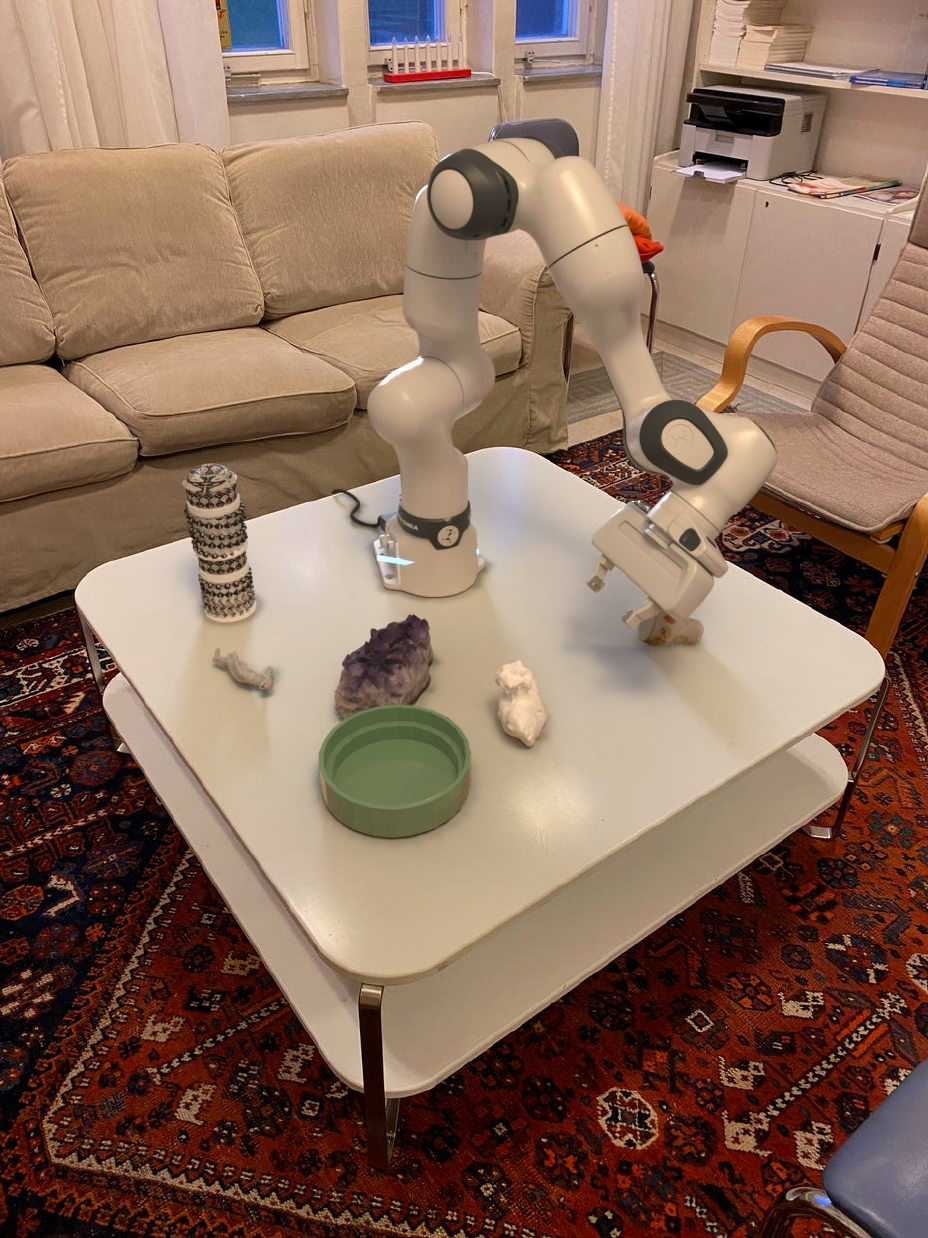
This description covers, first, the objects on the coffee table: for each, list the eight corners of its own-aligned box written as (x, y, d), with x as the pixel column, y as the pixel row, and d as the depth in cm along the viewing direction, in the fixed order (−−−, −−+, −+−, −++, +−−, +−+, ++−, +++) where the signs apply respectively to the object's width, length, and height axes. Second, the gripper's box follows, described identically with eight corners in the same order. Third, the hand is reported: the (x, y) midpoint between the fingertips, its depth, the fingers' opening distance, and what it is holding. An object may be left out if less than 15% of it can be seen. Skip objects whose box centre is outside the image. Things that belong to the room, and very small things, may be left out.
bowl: (304, 757, 128) (301, 727, 125) (436, 720, 134) (436, 690, 131) (349, 860, 113) (346, 828, 110) (494, 812, 120) (495, 781, 117)
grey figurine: (246, 659, 147) (297, 666, 140) (237, 689, 146) (287, 698, 139) (207, 643, 141) (258, 651, 134) (196, 675, 140) (247, 684, 133)
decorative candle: (219, 631, 152) (196, 490, 137) (191, 606, 157) (166, 469, 143) (269, 610, 156) (251, 472, 142) (240, 586, 162) (220, 452, 148)
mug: (710, 655, 148) (690, 616, 141) (650, 669, 152) (628, 632, 145) (706, 618, 153) (686, 579, 146) (648, 633, 156) (626, 596, 150)
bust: (522, 709, 140) (476, 657, 135) (565, 689, 136) (520, 634, 132) (514, 766, 130) (465, 711, 126) (560, 745, 127) (511, 688, 122)
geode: (378, 641, 150) (385, 589, 144) (446, 665, 147) (455, 613, 142) (319, 717, 133) (323, 661, 128) (394, 745, 131) (402, 690, 125)
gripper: (624, 483, 131) (558, 558, 134) (713, 553, 116) (636, 636, 118) (648, 506, 135) (583, 578, 138) (736, 576, 120) (662, 656, 122)
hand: (608, 606), depth 128 cm, fingers open, 8 cm apart
